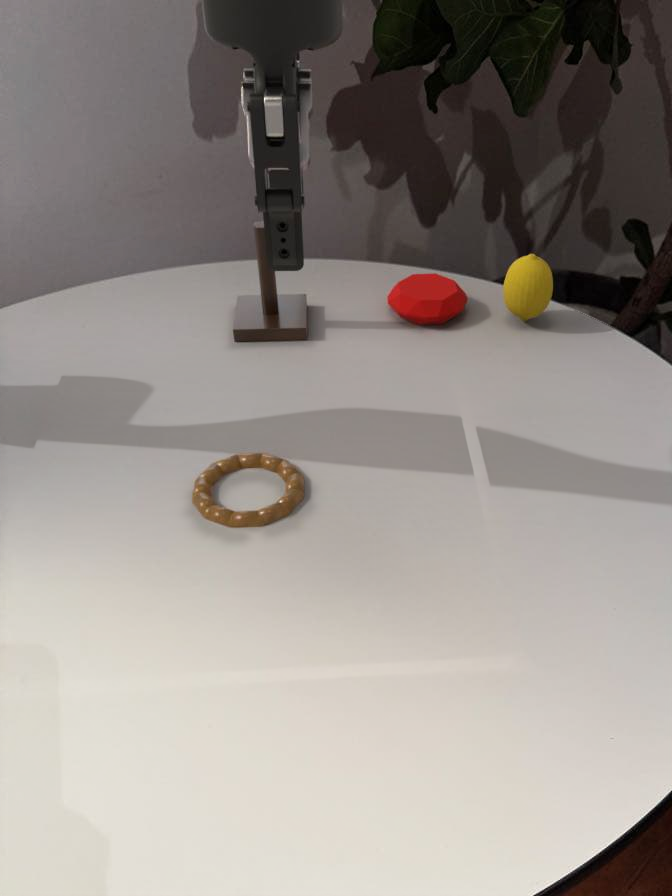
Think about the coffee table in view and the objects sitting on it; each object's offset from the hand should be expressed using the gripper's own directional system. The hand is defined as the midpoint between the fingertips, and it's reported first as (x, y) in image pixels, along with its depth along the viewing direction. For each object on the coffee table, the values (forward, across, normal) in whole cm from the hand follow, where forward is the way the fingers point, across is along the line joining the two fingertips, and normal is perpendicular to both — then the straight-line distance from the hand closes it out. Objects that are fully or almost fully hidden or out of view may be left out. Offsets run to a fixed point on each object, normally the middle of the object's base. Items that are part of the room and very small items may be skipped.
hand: (287, 238), depth 56 cm
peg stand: (+26, -36, -4) cm, 44 cm away
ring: (+25, -5, -5) cm, 26 cm away
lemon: (+26, -35, +25) cm, 50 cm away
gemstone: (+26, -38, +14) cm, 48 cm away
